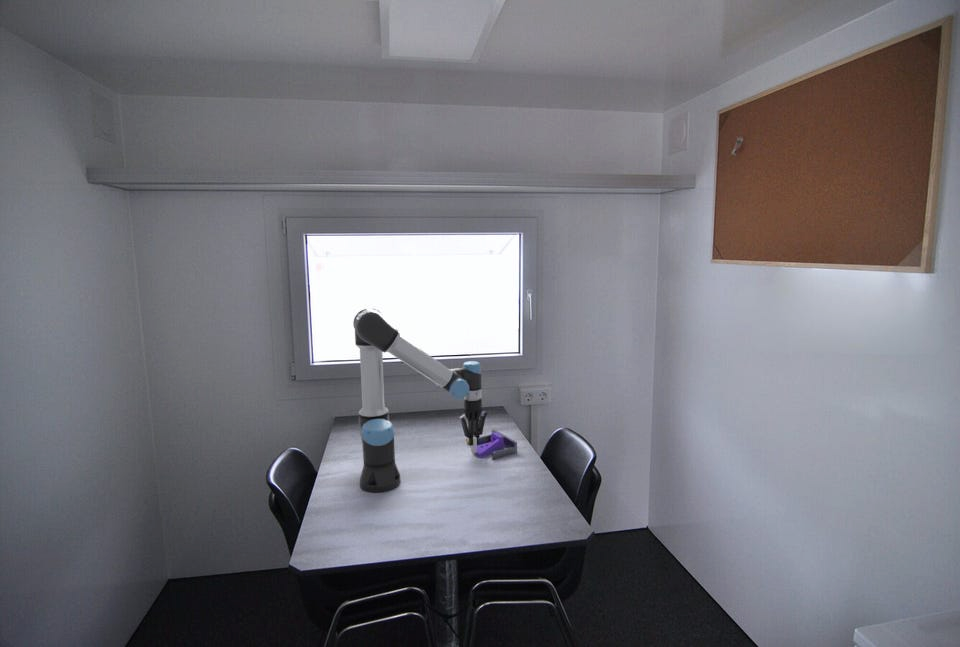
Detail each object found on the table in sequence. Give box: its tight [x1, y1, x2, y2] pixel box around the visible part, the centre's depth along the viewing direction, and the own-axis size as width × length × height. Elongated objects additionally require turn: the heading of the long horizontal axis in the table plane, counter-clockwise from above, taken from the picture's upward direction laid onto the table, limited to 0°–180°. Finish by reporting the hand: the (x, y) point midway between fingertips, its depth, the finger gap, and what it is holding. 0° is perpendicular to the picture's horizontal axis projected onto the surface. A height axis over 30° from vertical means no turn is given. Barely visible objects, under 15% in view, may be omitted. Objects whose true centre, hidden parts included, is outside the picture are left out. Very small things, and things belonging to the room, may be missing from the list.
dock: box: [477, 429, 518, 461], centre depth 223 cm, size 12×18×5 cm
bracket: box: [473, 433, 505, 458], centre depth 221 cm, size 12×7×7 cm, turn 121°
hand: (473, 451), depth 218 cm, fingers closed
